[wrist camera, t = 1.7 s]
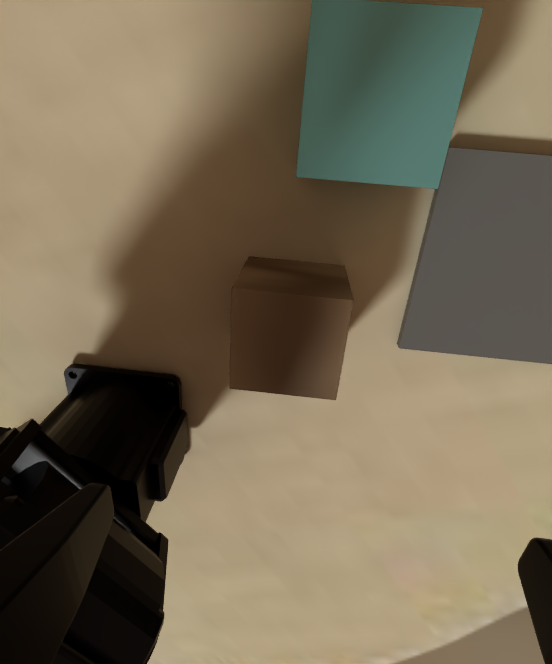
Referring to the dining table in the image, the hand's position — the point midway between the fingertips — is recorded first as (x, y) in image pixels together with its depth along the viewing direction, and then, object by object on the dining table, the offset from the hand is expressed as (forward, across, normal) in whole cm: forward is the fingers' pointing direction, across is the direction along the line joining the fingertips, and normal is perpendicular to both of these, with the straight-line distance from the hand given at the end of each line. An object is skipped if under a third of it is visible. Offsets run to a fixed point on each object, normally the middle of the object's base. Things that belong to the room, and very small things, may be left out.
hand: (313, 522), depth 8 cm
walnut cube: (+12, +1, 0) cm, 12 cm away
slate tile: (+12, -9, -3) cm, 15 cm away
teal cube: (+12, -1, -8) cm, 15 cm away
